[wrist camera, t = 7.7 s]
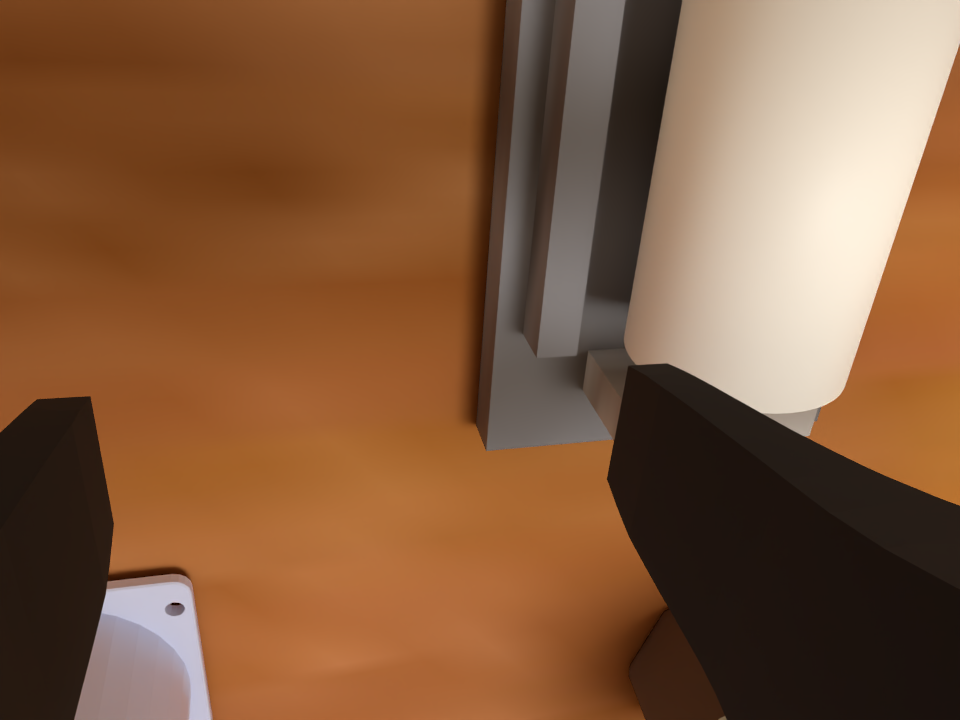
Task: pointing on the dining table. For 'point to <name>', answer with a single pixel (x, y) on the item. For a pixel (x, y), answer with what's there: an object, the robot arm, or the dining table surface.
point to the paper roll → (783, 187)
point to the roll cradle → (571, 215)
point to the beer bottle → (672, 677)
